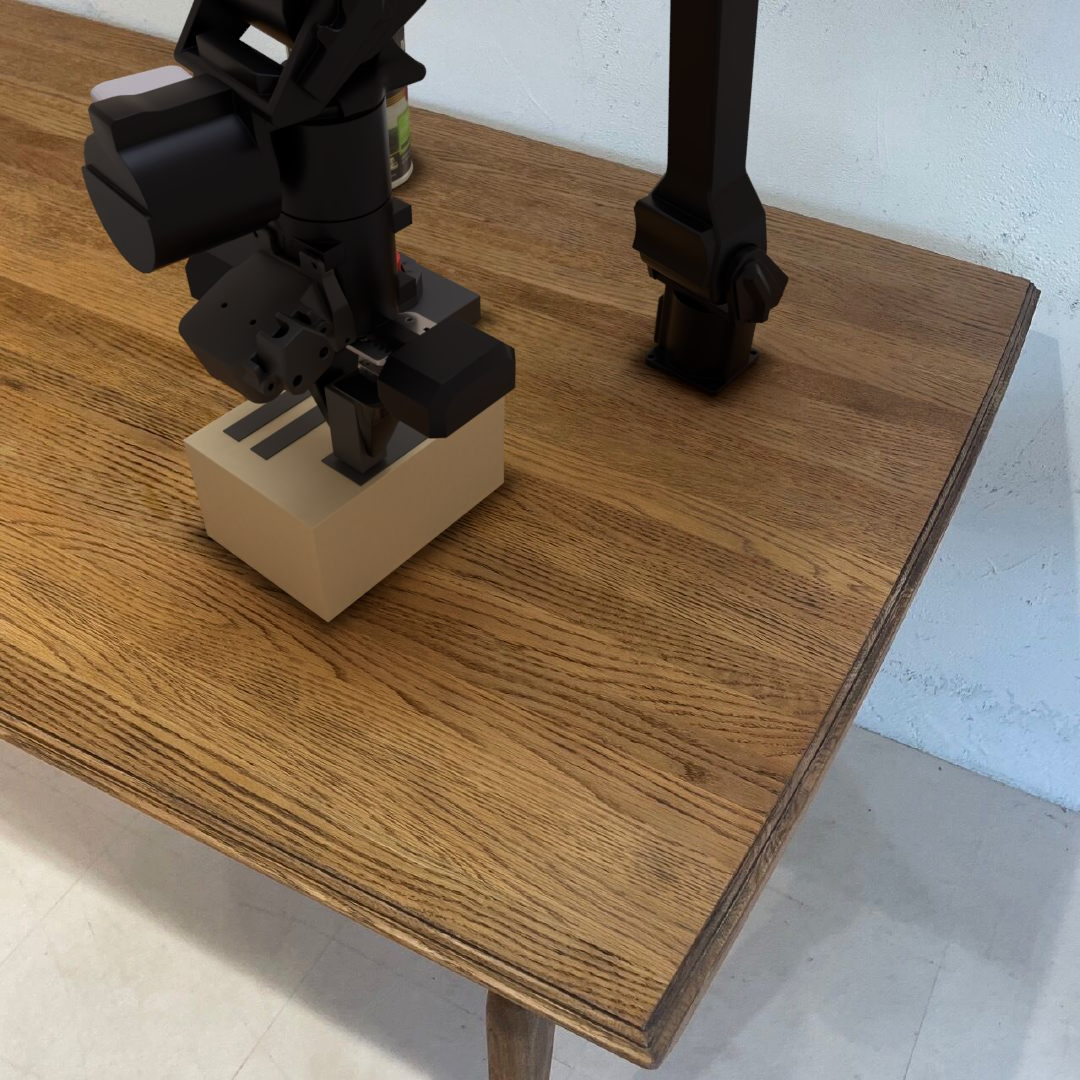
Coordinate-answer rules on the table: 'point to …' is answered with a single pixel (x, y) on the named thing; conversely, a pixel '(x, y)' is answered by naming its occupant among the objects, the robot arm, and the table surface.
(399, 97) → the coffee can
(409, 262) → the control block
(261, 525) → the toaster
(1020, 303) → the table surface
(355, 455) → the slider
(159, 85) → the charger
